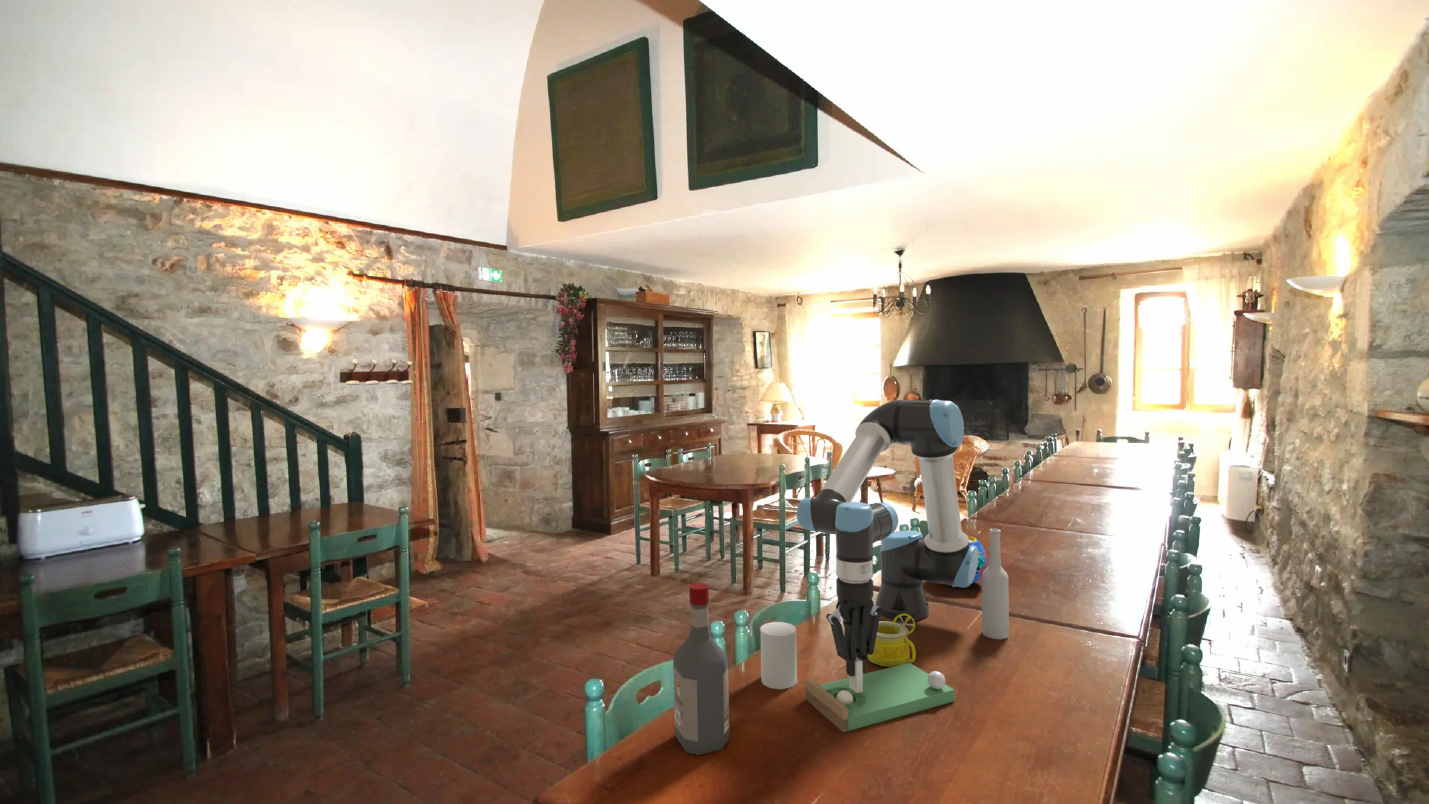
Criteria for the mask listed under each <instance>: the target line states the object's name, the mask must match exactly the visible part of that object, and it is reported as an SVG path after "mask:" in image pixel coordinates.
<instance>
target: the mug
mask: <svg viewBox="0 0 1429 804" xmlns="http://www.w3.org/2000/svg"><path fill="white" fill-rule="evenodd" d="M903 615H906V616H908V617H907V618H906V620H902V617H901V616H903ZM898 617H900V619H901V620H900V621H901V622H896V621H897V618H898ZM910 618H911V619H912V620H911V621H912V623H907V622H909V621H910V620H909V619H910ZM906 626H909V627H912V628H911V630H910V631H909V630H908V628H907V627H906ZM915 627H916V622H915V620H914V619H913V618H912V617H911V616H910V615H908V614H900V615H898V616H897V617H896V618H895V619H893V621H887V620H886V621H885V620H884V621H880V620H879V625H878V630H877V636H876V641H875V646H874V652H873V654H872V655H870V654H869V655H868V656H867V657H869V659H868V660H867V661H869V662H870V663H872V664H874V665H877V666H880V667H886V668H891V667H895V666H899V665H903V664H907V663H911V664H912V663H913V662H915V661H916V655H917V653H916V648H915V647H916V646H915V644H914V643H913V642H912V641H911V640H909V638H908V635H911V633H913V632H914V630H915ZM910 650H911V651H910ZM911 654H912V655H911ZM910 657H911V658H910Z"/></svg>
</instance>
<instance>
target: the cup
mask: <svg viewBox="0 0 1429 804" xmlns="http://www.w3.org/2000/svg"><path fill="white" fill-rule="evenodd" d="M759 631H760V675H761V676H760V679H761V683H762V684H763V686H764V687H767V688H769V689H772V690H773V689H774V690H786V688H787V689H791V688H793V687H795V686H796V685H797V683H798V668H797V666H798V665H797V663H798V662H797V661H798V660H797V655H798V654H797V652H798V651H797V647H798V646H797V627H796V626H795V625H793V624H791V623H788V622H783V621H771V622H767V623H764V624H763V625H761V626H760V629H759ZM795 684H796V685H795ZM794 685H795V686H794ZM790 687H791V688H790Z"/></svg>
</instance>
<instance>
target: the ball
mask: <svg viewBox="0 0 1429 804" xmlns="http://www.w3.org/2000/svg"><path fill="white" fill-rule="evenodd" d="M836 699H837V700H838V701H840V702H841V703H842V704H851V703H854V699H853V696H852V694H851V693H850V692H848V691H845V690H843V691H840V692H839V693H838V694H837V697H836Z"/></svg>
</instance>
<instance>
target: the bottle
mask: <svg viewBox="0 0 1429 804" xmlns="http://www.w3.org/2000/svg"><path fill="white" fill-rule="evenodd" d="M1001 532H1002V531H1001V529H998V528H990V529H989V533H990V534H989V561H988V563H989V564H988V565H987V566H986V569H985V570H984V571H983V573H982V577H981V634H982V635H983V637H986V638H989V639H992V640H1006V639H1008V638H1009V637H1010V620H1009V619H1010V617H1009V613H1010V612H1009V611H1010V609H1009V607H1010V606H1009V603H1010V602H1009V601H1010V600H1009V597H1010V596H1009V593H1010V592H1009V574H1008V573H1007V571H1005V569H1004V568H1003V566H1002V562H1001V561H1002V559H1001Z"/></svg>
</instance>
